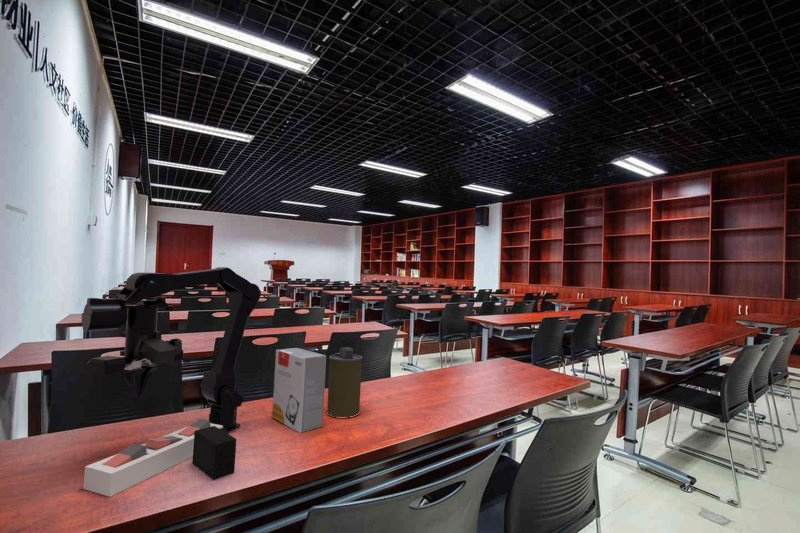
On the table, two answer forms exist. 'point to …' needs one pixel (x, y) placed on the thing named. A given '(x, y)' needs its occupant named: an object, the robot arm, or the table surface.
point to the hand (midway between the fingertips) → (137, 397)
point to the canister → (344, 383)
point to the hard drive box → (299, 388)
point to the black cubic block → (214, 452)
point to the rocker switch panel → (138, 466)
